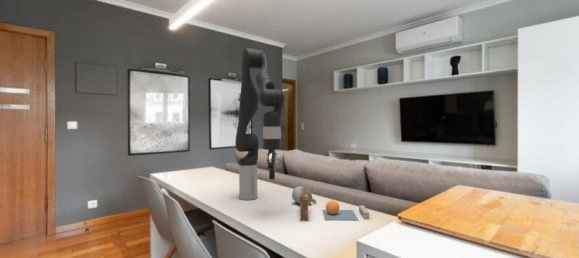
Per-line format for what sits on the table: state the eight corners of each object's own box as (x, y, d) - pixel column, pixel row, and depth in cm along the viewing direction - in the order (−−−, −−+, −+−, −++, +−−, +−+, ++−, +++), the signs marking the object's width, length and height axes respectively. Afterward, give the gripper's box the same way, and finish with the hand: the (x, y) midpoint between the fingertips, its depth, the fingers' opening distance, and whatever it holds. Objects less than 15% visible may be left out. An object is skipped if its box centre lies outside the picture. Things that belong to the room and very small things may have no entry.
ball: (341, 200, 116) (341, 213, 115) (329, 198, 119) (329, 211, 119) (335, 202, 111) (335, 216, 111) (323, 201, 114) (323, 214, 114)
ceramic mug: (299, 207, 125) (299, 190, 125) (291, 202, 133) (291, 186, 133) (319, 204, 130) (319, 188, 130) (310, 200, 137) (310, 185, 137)
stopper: (364, 219, 108) (364, 212, 108) (359, 211, 118) (359, 205, 118) (369, 219, 108) (369, 212, 108) (363, 211, 118) (363, 205, 118)
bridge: (300, 220, 107) (300, 196, 107) (300, 209, 122) (300, 188, 122) (308, 220, 107) (308, 196, 107) (307, 209, 122) (307, 188, 121)
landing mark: (324, 220, 107) (324, 219, 107) (322, 210, 120) (322, 209, 120) (358, 220, 107) (358, 219, 107) (352, 210, 120) (352, 209, 120)
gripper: (279, 138, 108) (279, 182, 108) (282, 136, 121) (282, 176, 121) (260, 138, 108) (260, 182, 109) (265, 136, 121) (265, 176, 122)
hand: (272, 179), depth 115 cm, fingers closed
